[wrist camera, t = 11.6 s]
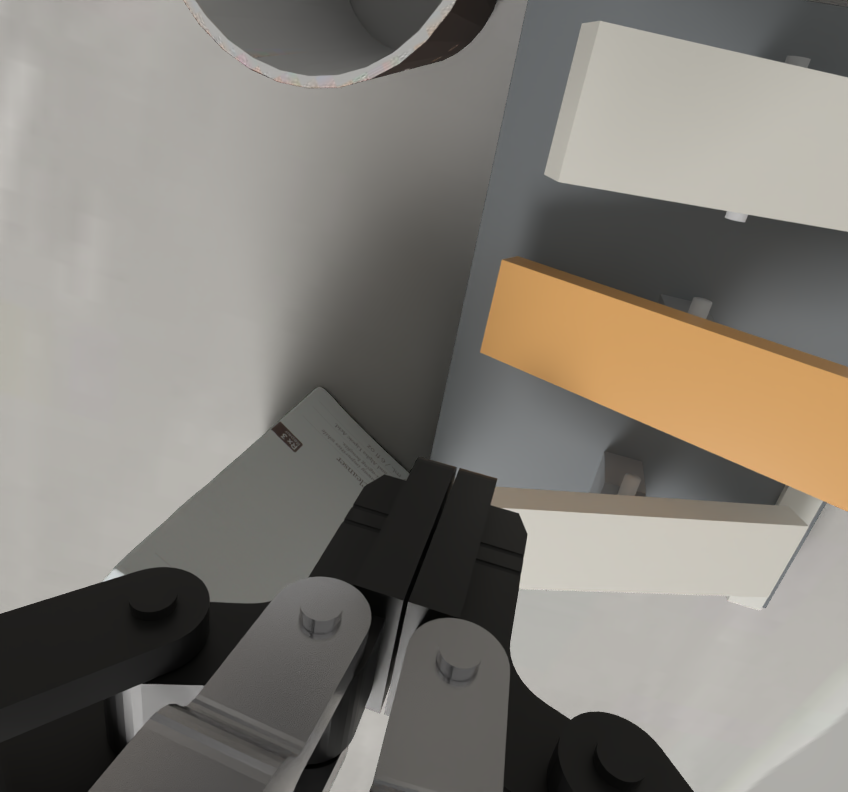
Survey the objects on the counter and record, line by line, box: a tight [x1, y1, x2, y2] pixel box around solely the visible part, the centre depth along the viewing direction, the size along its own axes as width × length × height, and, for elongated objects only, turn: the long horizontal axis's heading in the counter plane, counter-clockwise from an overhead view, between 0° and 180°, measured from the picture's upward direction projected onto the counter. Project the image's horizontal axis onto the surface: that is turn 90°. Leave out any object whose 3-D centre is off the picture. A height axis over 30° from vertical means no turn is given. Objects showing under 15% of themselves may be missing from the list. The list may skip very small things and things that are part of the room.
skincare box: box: [102, 387, 410, 603], centre depth 27 cm, size 8×6×15 cm
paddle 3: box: [491, 487, 809, 597], centre depth 23 cm, size 4×13×1 cm, turn 80°
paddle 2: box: [480, 256, 848, 511], centre depth 20 cm, size 4×13×1 cm, turn 80°
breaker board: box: [430, 0, 848, 611], centre depth 23 cm, size 22×16×6 cm
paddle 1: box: [544, 21, 848, 232], centre depth 17 cm, size 4×13×1 cm, turn 80°
